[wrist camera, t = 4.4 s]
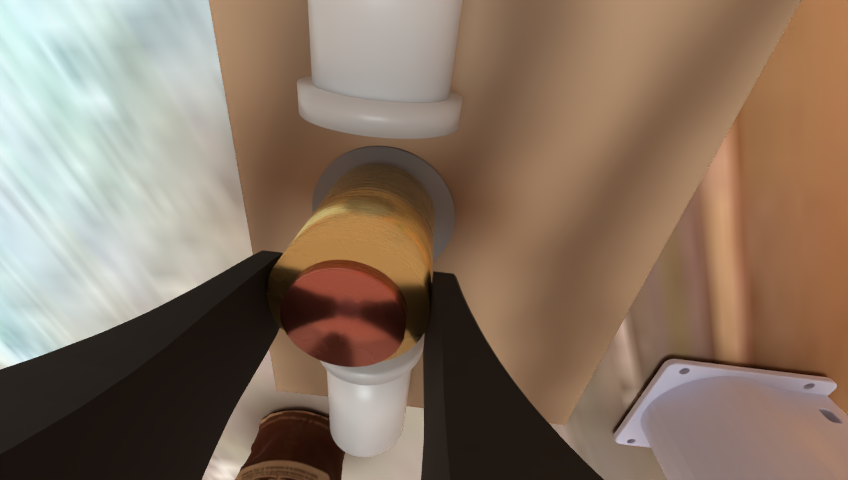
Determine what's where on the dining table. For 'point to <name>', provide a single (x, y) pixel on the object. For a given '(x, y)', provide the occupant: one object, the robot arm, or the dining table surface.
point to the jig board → (520, 159)
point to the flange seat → (407, 163)
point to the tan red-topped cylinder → (359, 270)
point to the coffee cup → (293, 449)
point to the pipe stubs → (385, 118)
